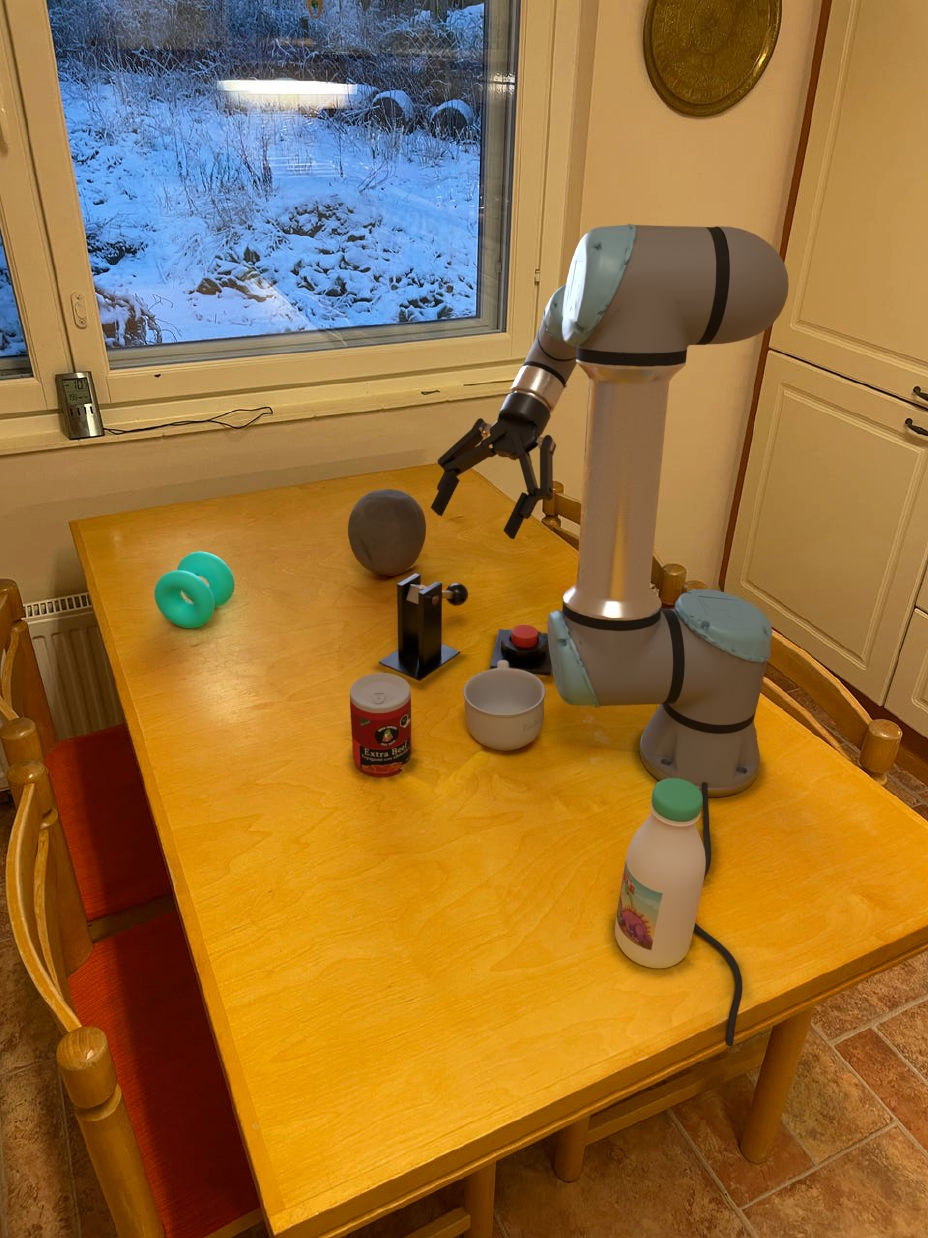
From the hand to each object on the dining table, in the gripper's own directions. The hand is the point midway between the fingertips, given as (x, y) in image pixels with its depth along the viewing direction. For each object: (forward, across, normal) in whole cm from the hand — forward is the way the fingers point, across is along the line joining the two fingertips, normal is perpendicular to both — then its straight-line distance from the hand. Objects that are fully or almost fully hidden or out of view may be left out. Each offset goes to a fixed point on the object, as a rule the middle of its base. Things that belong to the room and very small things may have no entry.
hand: (471, 523), depth 137 cm
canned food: (+37, -10, +10) cm, 40 cm away
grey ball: (+8, +24, -19) cm, 32 cm away
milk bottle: (+41, -52, +14) cm, 67 cm away
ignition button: (+12, -12, -10) cm, 20 cm away
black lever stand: (+22, 0, -5) cm, 23 cm away
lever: (+14, 0, -2) cm, 14 cm away
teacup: (+27, -19, 0) cm, 33 cm away
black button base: (+15, -12, -12) cm, 22 cm away
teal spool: (+30, +38, +3) cm, 49 cm away
